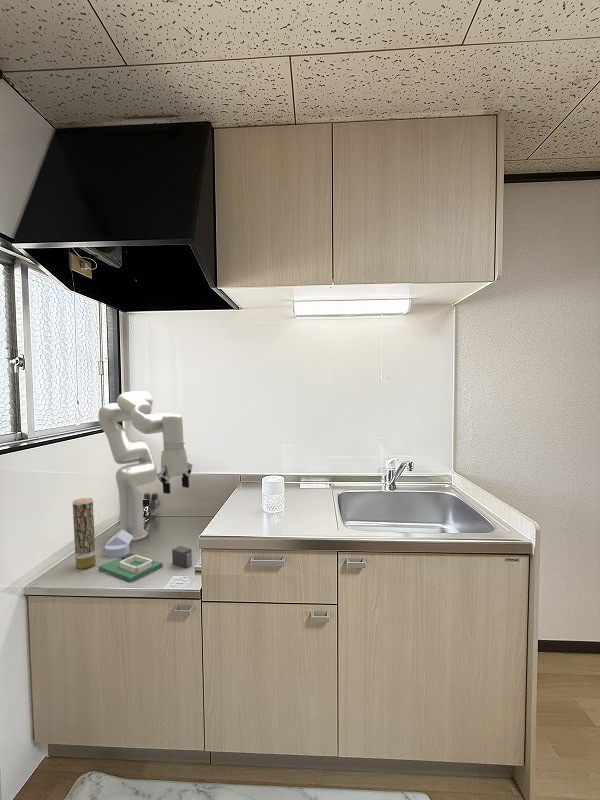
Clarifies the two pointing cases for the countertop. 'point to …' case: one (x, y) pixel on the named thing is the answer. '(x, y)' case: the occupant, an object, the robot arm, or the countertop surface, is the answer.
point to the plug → (182, 557)
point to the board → (130, 567)
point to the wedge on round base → (118, 544)
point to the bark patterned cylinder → (84, 532)
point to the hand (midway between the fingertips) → (176, 490)
